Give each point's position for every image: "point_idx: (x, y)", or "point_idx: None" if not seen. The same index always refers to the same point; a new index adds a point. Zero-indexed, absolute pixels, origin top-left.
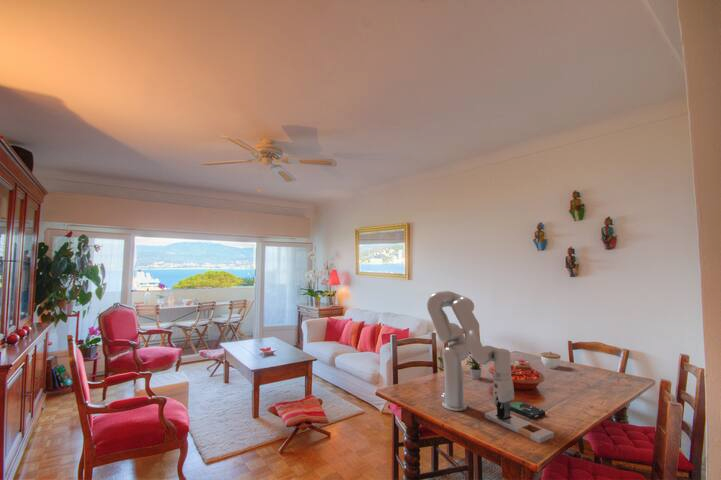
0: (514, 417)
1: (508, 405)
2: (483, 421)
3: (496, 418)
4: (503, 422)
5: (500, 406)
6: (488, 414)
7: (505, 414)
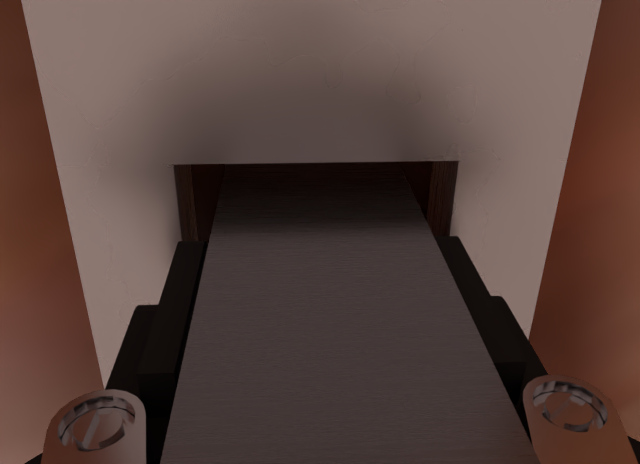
0: (139, 139)
1: (254, 396)
2: (620, 365)
3: (537, 287)
4: (571, 114)
5: (623, 443)
6: None
7: (400, 243)
